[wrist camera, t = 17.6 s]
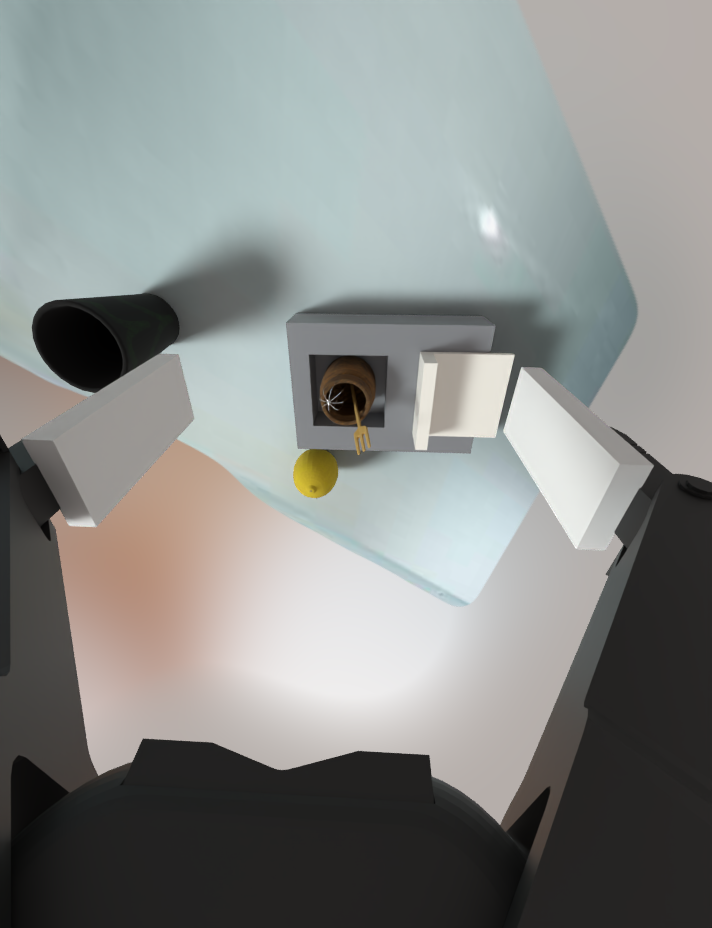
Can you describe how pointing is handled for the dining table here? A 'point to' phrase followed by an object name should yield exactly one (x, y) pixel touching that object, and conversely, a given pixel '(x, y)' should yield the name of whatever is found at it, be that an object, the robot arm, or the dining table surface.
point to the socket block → (375, 373)
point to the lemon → (315, 473)
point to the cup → (102, 336)
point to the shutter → (459, 394)
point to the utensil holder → (349, 394)
